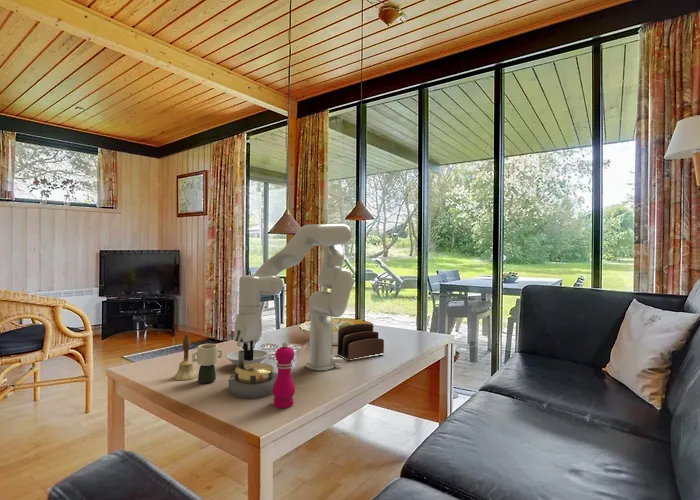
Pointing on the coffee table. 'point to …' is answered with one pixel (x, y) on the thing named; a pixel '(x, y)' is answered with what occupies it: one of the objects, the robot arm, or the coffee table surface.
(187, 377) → the hand bell
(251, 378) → the ring nut
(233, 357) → the dish
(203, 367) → the character mug
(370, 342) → the letter holder
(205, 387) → the coffee table surface
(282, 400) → the pepper mill
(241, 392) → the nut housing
